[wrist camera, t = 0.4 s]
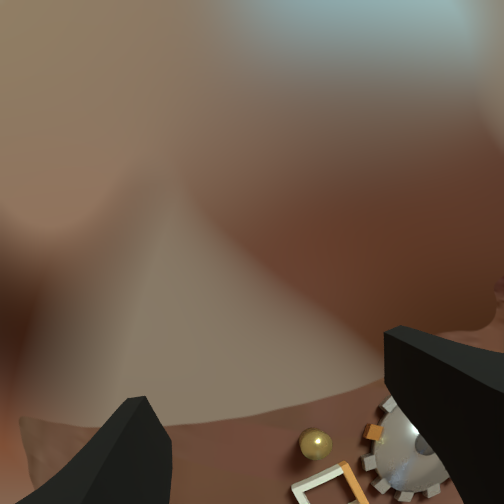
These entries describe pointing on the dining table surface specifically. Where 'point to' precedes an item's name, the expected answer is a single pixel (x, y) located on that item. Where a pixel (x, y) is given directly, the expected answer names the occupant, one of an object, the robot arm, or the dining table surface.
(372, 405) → the dining table surface
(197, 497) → the dining table surface
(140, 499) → the robot arm
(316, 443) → the brass pin
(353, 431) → the dining table surface
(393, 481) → the sprocket
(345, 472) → the square open frame
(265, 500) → the dining table surface
